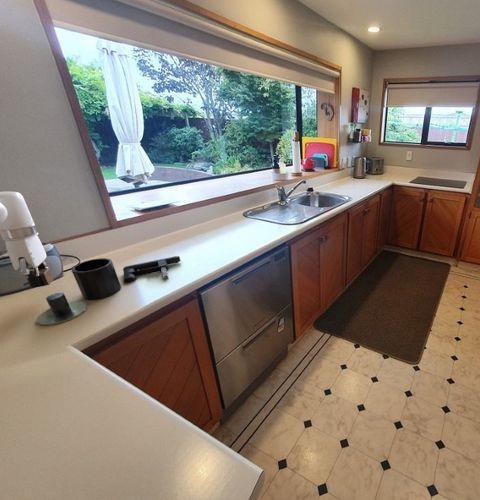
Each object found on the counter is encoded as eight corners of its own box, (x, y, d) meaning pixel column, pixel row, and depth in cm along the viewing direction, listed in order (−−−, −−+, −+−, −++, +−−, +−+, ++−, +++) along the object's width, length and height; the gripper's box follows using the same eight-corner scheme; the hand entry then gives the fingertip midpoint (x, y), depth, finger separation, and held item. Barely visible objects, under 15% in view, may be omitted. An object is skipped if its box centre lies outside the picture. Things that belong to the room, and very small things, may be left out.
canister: (80, 304, 94) (66, 275, 89) (88, 289, 102) (76, 261, 97) (118, 297, 99) (107, 268, 94) (123, 283, 107) (114, 256, 102)
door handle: (184, 269, 113) (178, 253, 124) (122, 284, 102) (122, 264, 113) (185, 276, 114) (180, 259, 125) (124, 291, 103) (124, 271, 115)
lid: (31, 331, 82) (19, 311, 79) (46, 310, 91) (36, 291, 88) (82, 320, 87) (74, 301, 84) (92, 301, 96) (84, 283, 93)
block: (30, 287, 92) (25, 276, 90) (36, 281, 95) (31, 270, 94) (49, 285, 94) (43, 273, 92) (53, 279, 97) (49, 268, 96)
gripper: (15, 225, 93) (37, 274, 100) (-14, 242, 79) (14, 297, 86) (46, 223, 96) (65, 270, 103) (23, 239, 82) (47, 292, 90)
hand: (42, 282), depth 95 cm, fingers closed on block, 4 cm apart
